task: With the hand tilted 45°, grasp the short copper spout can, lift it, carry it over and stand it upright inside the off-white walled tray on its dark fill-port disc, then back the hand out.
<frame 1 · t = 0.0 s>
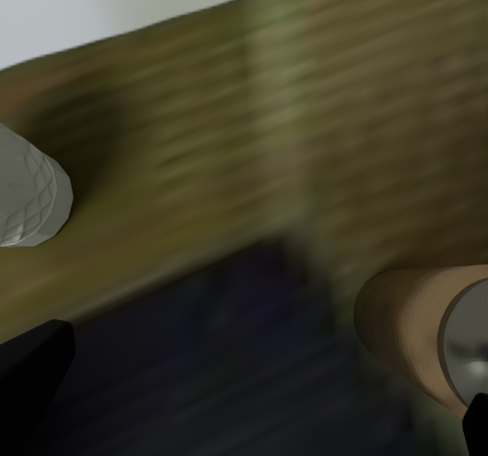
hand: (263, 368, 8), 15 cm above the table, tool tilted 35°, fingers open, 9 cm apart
spout can: (401, 317, 22), on the table
white cup: (30, 201, 25), on the table
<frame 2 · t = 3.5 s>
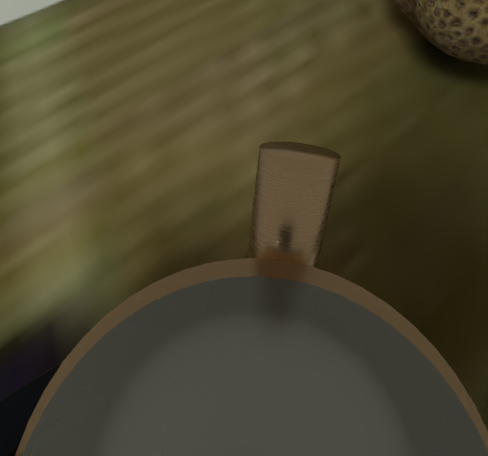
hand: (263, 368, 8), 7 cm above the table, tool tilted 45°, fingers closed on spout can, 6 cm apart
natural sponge: (447, 54, 19), on the table
spout can: (253, 400, 13), on the table, touching gripper
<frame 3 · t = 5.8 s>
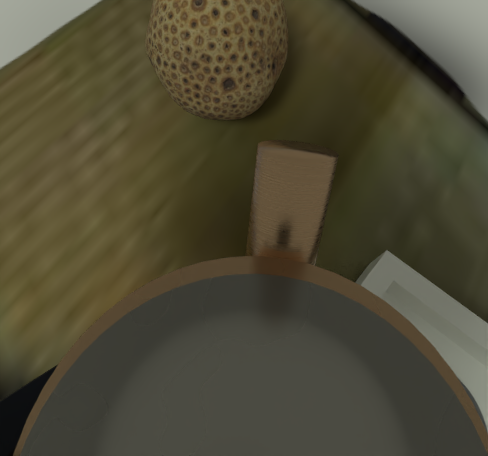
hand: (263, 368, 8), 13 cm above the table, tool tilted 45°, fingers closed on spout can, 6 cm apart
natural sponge: (225, 103, 27), on the table
spout can: (252, 399, 13), point 7 cm above the table, touching gripper
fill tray: (402, 426, 19), on the table
when the fingers open (9 cm above the table, at t = 8.1 s): spout can drops 1 cm, resting on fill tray.
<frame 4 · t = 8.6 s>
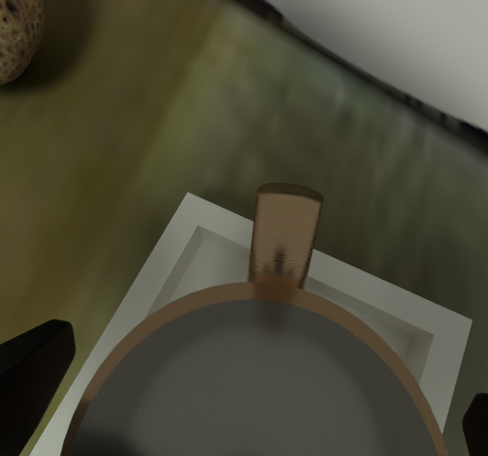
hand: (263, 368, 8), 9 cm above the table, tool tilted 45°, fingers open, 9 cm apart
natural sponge: (16, 77, 23), on the table
spout can: (252, 399, 15), point 1 cm above the table, touching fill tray
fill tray: (253, 393, 16), on the table
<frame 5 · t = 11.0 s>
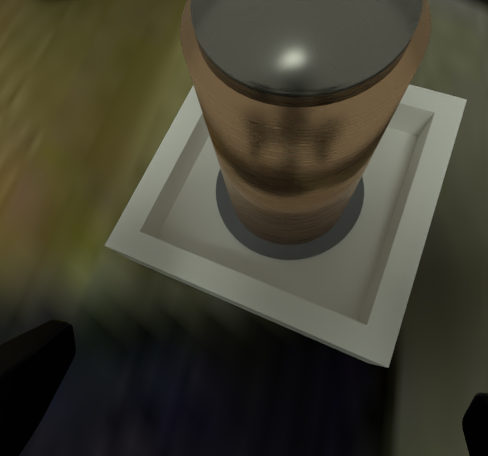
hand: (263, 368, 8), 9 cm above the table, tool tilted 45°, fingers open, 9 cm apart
spout can: (288, 188, 18), point 1 cm above the table, touching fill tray
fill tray: (287, 196, 19), on the table
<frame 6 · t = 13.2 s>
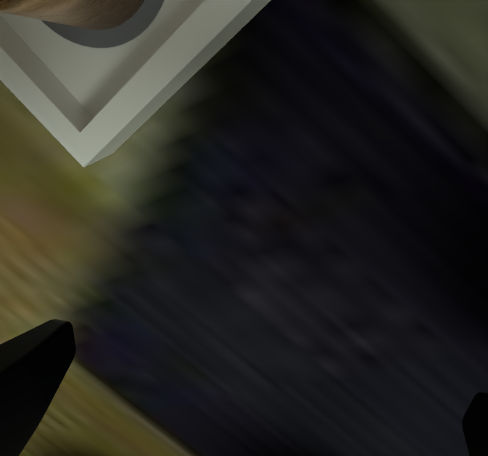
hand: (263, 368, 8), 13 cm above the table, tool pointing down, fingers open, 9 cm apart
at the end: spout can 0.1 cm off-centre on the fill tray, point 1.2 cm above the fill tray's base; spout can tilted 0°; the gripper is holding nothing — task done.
